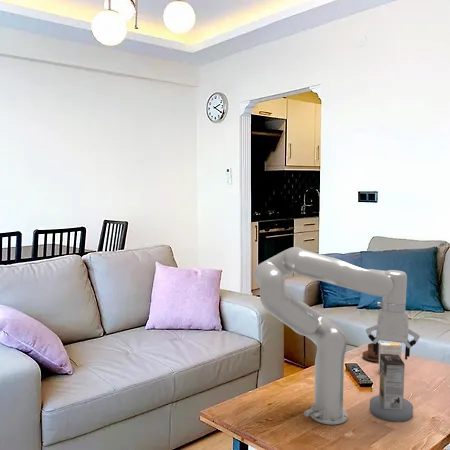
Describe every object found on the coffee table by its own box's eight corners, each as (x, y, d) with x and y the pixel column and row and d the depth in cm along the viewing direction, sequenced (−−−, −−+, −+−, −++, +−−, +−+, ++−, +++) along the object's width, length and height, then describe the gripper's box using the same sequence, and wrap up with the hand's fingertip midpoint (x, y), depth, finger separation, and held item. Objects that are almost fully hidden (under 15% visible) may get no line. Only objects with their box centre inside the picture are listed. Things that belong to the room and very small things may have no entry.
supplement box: (398, 371, 205) (399, 341, 203) (401, 376, 200) (402, 345, 199) (377, 371, 205) (378, 340, 204) (380, 375, 201) (381, 344, 200)
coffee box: (378, 397, 173) (379, 353, 172) (397, 398, 173) (398, 353, 171) (383, 409, 164) (385, 362, 163) (403, 410, 164) (405, 363, 162)
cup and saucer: (372, 352, 228) (372, 339, 228) (395, 359, 219) (395, 346, 219) (356, 358, 221) (357, 345, 220) (380, 366, 212) (380, 352, 211)
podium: (395, 426, 159) (395, 417, 159) (361, 409, 171) (361, 401, 170) (421, 414, 167) (421, 406, 167) (387, 399, 179) (387, 391, 178)
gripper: (366, 306, 165) (363, 356, 167) (421, 312, 159) (418, 363, 160) (368, 301, 172) (365, 349, 174) (420, 307, 166) (418, 356, 167)
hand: (391, 356), depth 167 cm, fingers open, 9 cm apart
